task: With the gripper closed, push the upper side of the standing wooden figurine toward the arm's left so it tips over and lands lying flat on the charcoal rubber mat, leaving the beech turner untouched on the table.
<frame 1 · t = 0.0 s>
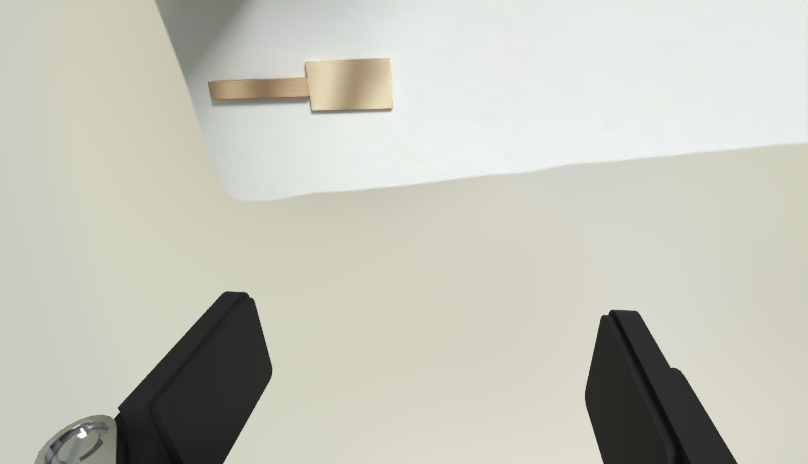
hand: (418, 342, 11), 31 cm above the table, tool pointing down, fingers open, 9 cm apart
turner: (310, 85, 39), on the table
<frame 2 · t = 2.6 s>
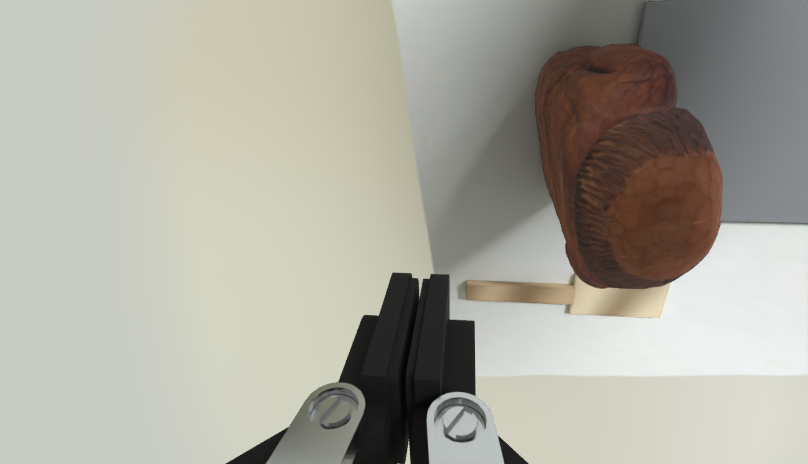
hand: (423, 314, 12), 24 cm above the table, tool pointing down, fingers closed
wooden figurine: (573, 121, 32), on the table
turner: (572, 291, 39), on the table
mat: (761, 119, 30), on the table
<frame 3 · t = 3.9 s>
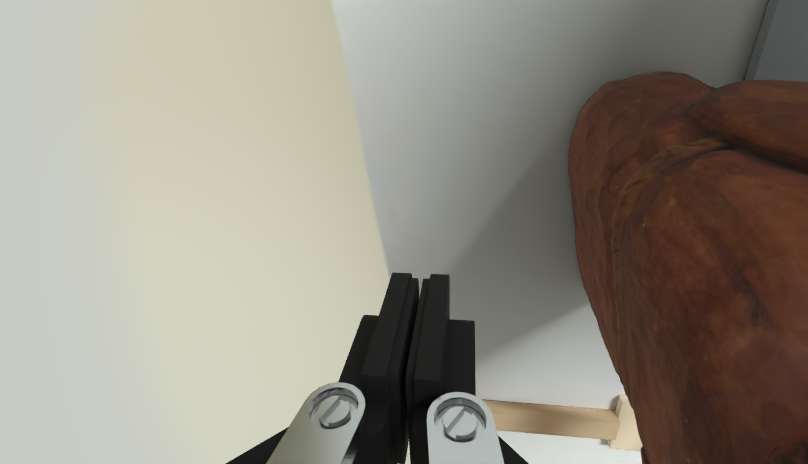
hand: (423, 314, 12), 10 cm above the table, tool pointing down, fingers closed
wooden figurine: (628, 189, 20), on the table
turner: (612, 418, 27), on the table
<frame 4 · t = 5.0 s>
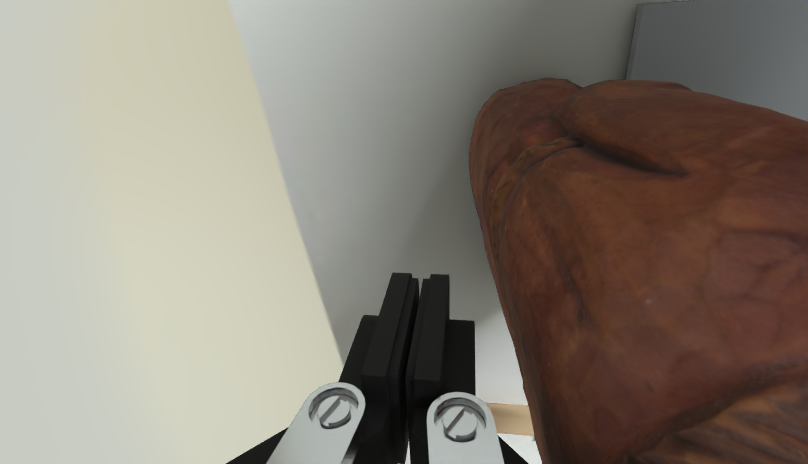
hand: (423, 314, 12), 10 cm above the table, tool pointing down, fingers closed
wooden figurine: (531, 193, 20), on the table, touching gripper
turner: (541, 415, 27), on the table
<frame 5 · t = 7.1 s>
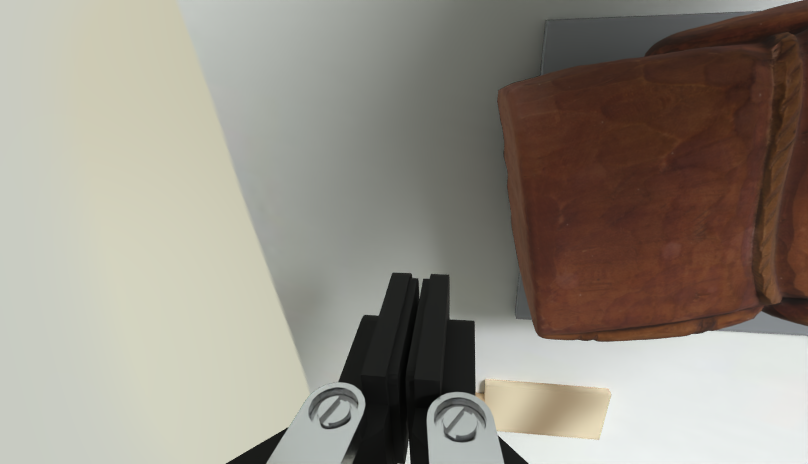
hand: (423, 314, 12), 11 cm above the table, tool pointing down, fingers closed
wooden figurine: (509, 215, 18), point 4 cm above the table, touching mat
turner: (483, 401, 29), on the table
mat: (725, 193, 20), on the table
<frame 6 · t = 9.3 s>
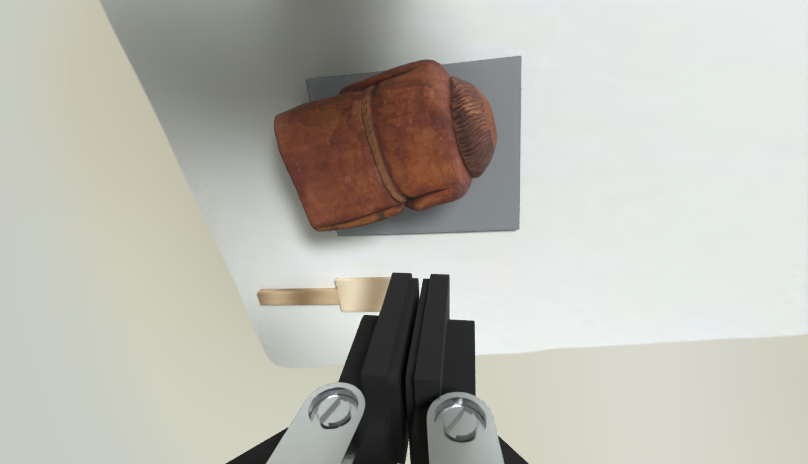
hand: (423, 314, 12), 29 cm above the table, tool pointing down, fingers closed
wooden figurine: (298, 173, 38), point 4 cm above the table, touching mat
turner: (340, 293, 48), on the table
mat: (418, 156, 39), on the table
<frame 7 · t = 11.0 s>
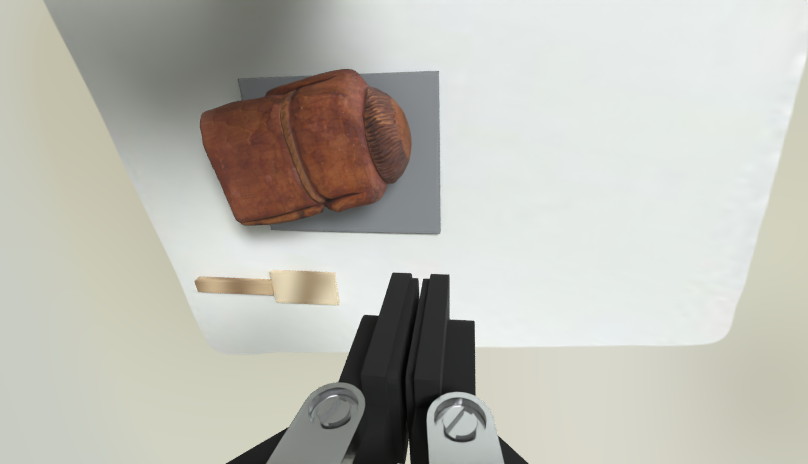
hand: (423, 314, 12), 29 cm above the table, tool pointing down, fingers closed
wooden figurine: (226, 168, 39), point 4 cm above the table, touching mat
turner: (275, 284, 50), on the table
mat: (346, 158, 41), on the table
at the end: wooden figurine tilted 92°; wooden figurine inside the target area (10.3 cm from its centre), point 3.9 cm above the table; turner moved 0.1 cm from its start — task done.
